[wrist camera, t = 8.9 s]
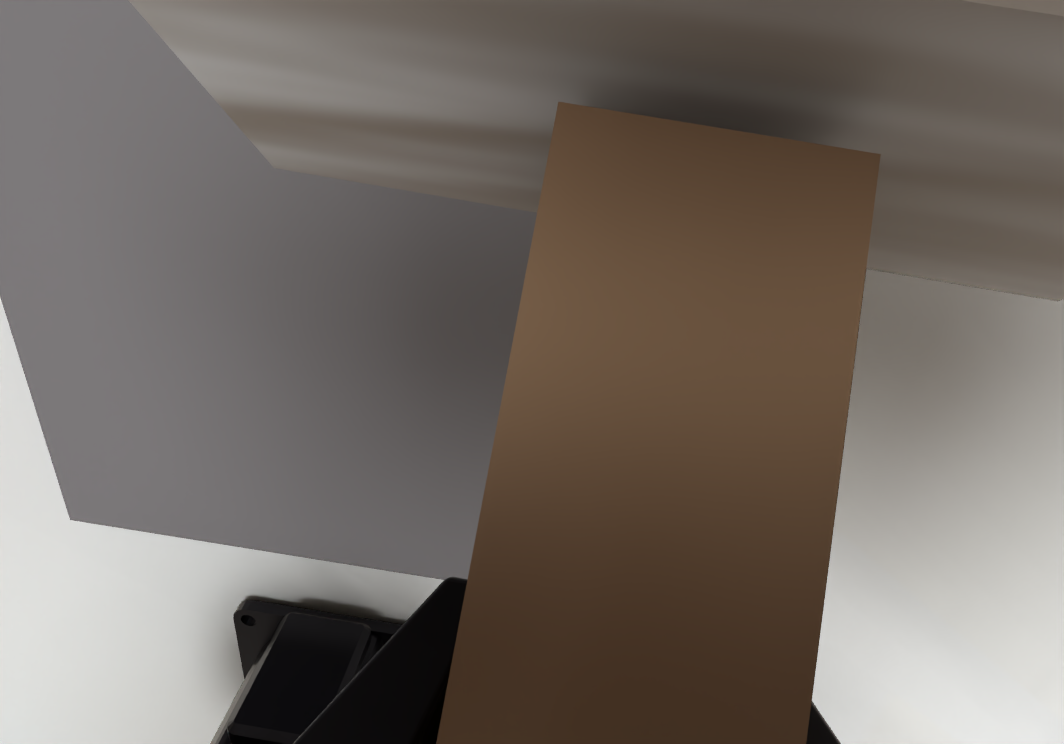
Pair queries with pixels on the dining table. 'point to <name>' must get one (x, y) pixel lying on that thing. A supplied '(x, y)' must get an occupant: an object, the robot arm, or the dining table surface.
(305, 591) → the dining table surface
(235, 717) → the robot arm
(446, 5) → the t-shaped pusher tool
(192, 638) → the dining table surface
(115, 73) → the tool mat
